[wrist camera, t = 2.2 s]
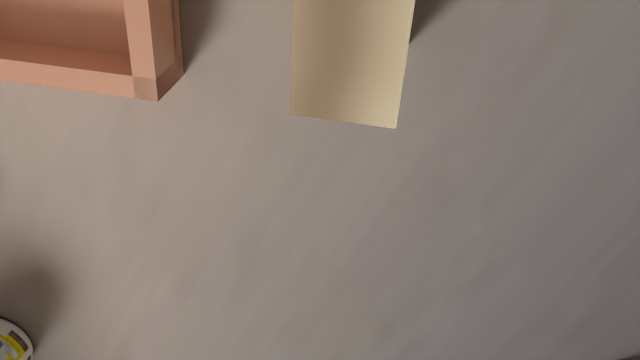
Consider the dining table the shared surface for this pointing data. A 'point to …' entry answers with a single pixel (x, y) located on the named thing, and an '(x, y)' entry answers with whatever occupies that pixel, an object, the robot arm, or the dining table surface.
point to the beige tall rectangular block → (349, 59)
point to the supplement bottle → (15, 341)
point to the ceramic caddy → (93, 45)
